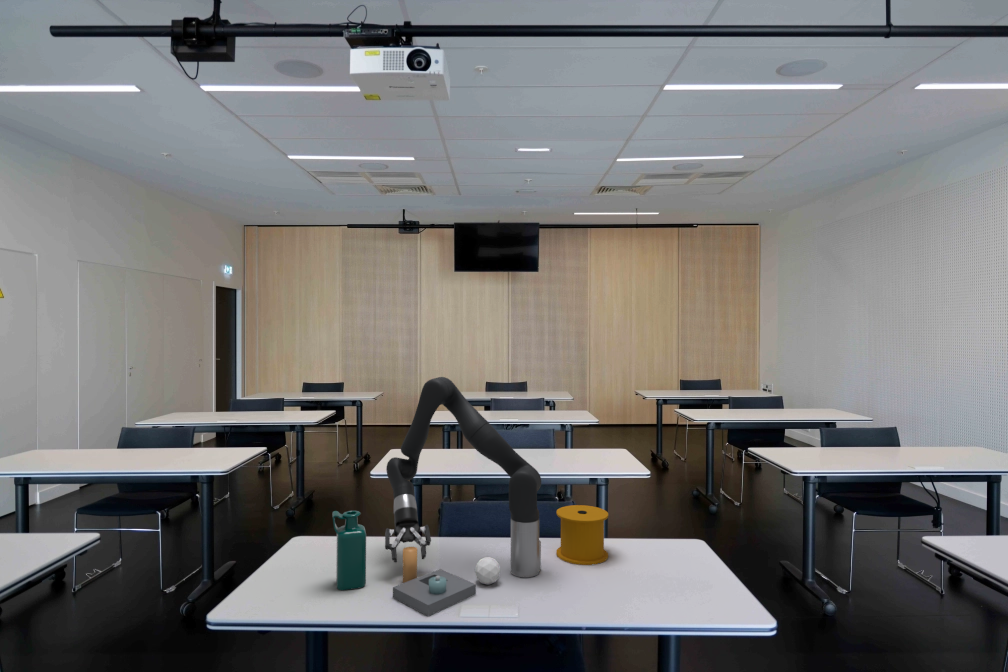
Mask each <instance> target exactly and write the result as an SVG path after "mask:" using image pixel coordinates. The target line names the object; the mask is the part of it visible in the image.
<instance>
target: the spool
mask: <svg viewBox="0 0 1008 672" xmlns="http://www.w3.org/2000/svg"><path fill="white" fill-rule="evenodd" d="M556 516H557V517H558V518H559V519H560V546H559V547H558V548H557V549H556V551H555V552H556V553H555V555H556V557H557V558H558V559H560V560H561V561H563V562H565V563H569V564H572V565H578V566H580V565H581V566H593V565H592V564H594V565H599V564H601V563H605V562H606V561H607V560H608V559H609V553H608V551H607V550H606V549H605V521H606V520H607V519H608V518H609V512H608V511H607V510H605V509H603V508H601V507H597V506H591V505H586V504H585V505H583V504H582V505H580V504H577V505H576V504H575V505H574V504H573V505H565V506H562V507H559V508H558V509H556ZM598 563H599V564H598Z"/></svg>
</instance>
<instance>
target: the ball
mask: <svg viewBox="0 0 1008 672" xmlns="http://www.w3.org/2000/svg"><path fill="white" fill-rule="evenodd" d="M474 570H475V571H474V573H475V576H476V579H477V581H479V583H480V584H483V585H487V586H489V585H491V584H494V583H496V582H497V581H498V579H499V578H500V573H501V568H500V563H499V562H498V561H497V559H495V558H493V557H489V556H485V557H483V558H481V559H480V560H478V562H477V563H475V569H474Z"/></svg>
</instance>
